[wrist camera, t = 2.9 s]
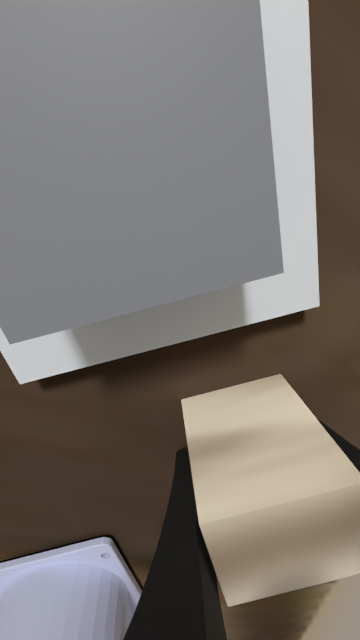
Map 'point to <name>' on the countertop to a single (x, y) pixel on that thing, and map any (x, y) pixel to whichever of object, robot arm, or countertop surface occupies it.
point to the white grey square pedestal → (151, 175)
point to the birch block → (270, 491)
